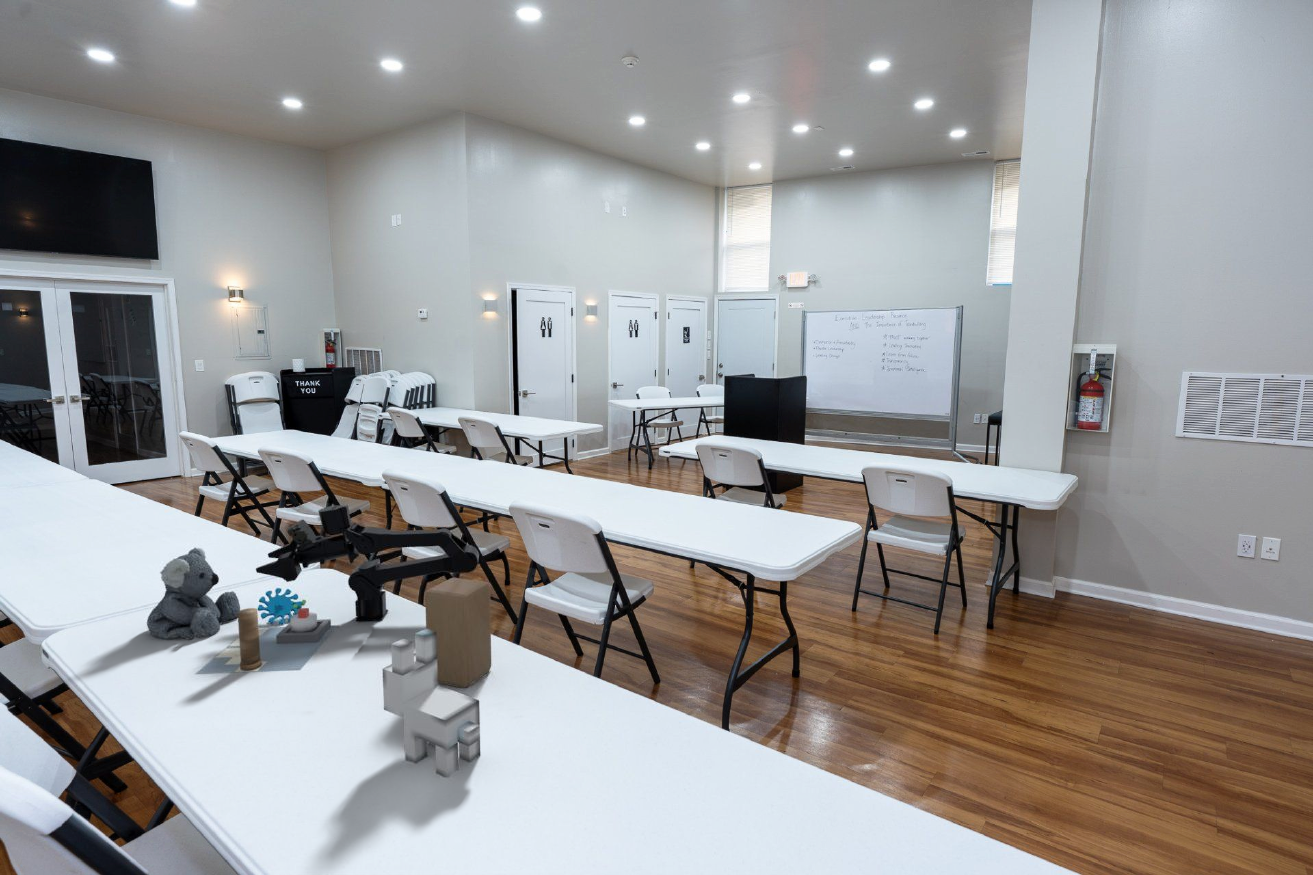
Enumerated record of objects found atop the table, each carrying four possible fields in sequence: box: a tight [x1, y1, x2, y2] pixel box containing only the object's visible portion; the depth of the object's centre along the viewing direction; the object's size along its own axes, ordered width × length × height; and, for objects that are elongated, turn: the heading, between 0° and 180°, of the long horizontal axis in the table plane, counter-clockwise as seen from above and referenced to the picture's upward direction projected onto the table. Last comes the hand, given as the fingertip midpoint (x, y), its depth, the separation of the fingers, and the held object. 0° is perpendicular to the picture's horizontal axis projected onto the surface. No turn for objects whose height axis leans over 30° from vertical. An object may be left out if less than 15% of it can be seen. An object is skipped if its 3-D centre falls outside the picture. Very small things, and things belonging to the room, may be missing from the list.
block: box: [424, 577, 492, 689], centre depth 144 cm, size 10×10×20 cm
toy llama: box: [382, 628, 481, 779], centre depth 116 cm, size 8×18×20 cm, turn 60°
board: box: [195, 618, 340, 675], centre depth 156 cm, size 21×24×3 cm
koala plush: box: [146, 547, 241, 640], centre depth 166 cm, size 17×18×20 cm
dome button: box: [290, 607, 318, 632], centre depth 162 cm, size 6×6×4 cm
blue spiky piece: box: [257, 587, 307, 625], centre depth 175 cm, size 11×6×10 cm
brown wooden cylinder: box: [237, 607, 262, 671], centre depth 146 cm, size 4×4×12 cm
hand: (262, 562), depth 169 cm, fingers open, 9 cm apart
